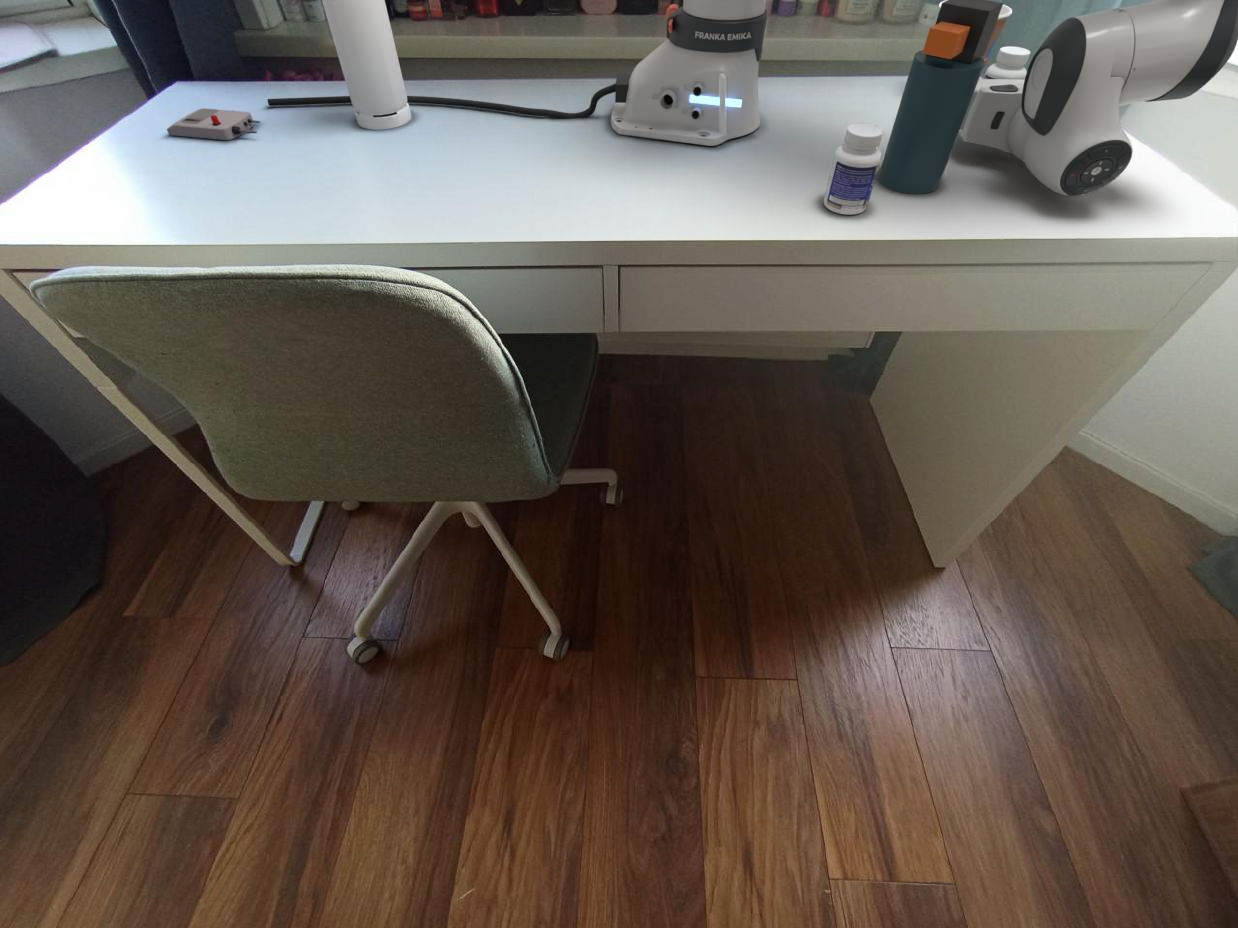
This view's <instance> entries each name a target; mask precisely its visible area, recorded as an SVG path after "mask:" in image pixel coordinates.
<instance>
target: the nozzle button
mask: <svg viewBox="0 0 1238 928" xmlns="http://www.w3.org/2000/svg"><path fill="white" fill-rule="evenodd" d="M935 24H936V23H935ZM969 30H970V27H969V26H963V25H958V24H952V23H947V22H940V23H938V24H936V25H932V26H931V27H930V28H929V30H928V34H927V36H926V40H925V43H924V46H923V48H922V50H923V52H922V53H923V54H927V55H932V56H937V57H942V58H947V59H952V58H953V57H955V56H956V55H958V54H960V53H961V52H962V50H963V47H964V44H965V41H966V38H967V36H968V33H969Z"/></svg>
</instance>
